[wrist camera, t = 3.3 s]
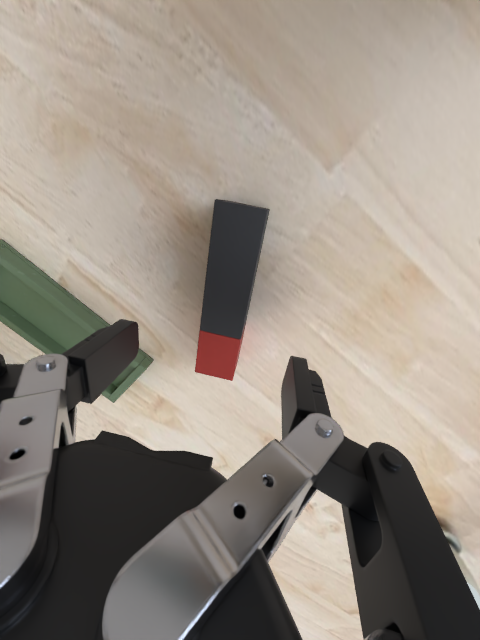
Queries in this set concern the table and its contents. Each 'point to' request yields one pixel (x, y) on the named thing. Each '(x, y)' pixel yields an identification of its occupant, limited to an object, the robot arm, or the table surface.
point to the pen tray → (52, 315)
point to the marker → (229, 285)
